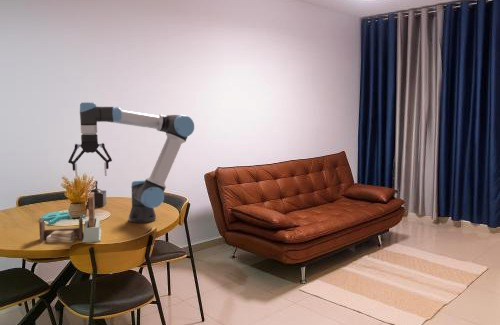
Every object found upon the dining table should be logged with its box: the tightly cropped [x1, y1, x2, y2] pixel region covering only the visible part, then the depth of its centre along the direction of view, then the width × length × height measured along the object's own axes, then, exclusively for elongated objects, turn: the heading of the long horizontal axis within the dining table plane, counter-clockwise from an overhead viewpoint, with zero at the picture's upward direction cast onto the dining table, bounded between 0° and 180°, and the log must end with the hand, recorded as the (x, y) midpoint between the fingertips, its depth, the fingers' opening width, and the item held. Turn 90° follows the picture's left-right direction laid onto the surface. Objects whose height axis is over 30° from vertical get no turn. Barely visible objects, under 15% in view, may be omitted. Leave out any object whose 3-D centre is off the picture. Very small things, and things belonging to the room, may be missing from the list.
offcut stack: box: [46, 231, 78, 243], centre depth 190 cm, size 12×5×4 cm, turn 94°
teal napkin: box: [39, 211, 87, 226], centre depth 230 cm, size 20×2×20 cm
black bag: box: [86, 180, 107, 208], centre depth 260 cm, size 16×11×18 cm
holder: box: [81, 217, 102, 243], centre depth 197 cm, size 8×19×7 cm, turn 19°
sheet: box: [88, 192, 96, 228], centre depth 197 cm, size 15×2×20 cm, turn 19°
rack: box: [38, 216, 84, 244], centre depth 192 cm, size 18×8×10 cm, turn 109°
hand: (91, 176), depth 200 cm, fingers open, 13 cm apart
